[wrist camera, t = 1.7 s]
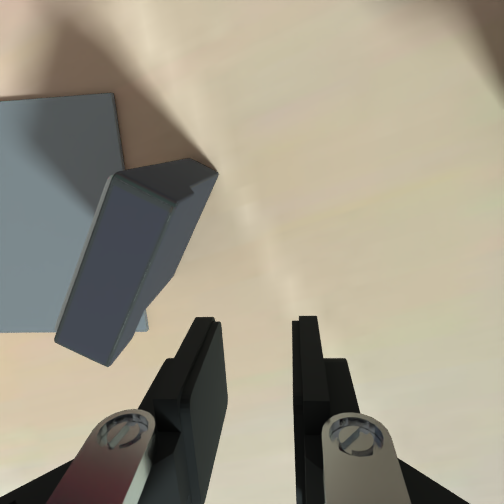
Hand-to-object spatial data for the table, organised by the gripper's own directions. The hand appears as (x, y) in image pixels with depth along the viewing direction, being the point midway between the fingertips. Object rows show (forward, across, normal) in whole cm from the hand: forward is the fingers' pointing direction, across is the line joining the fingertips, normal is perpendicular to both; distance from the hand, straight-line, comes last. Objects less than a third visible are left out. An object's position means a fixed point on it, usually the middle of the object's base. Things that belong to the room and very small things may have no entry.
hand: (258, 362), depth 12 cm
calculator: (+23, +9, 0) cm, 25 cm away
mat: (+23, +22, 0) cm, 32 cm away
